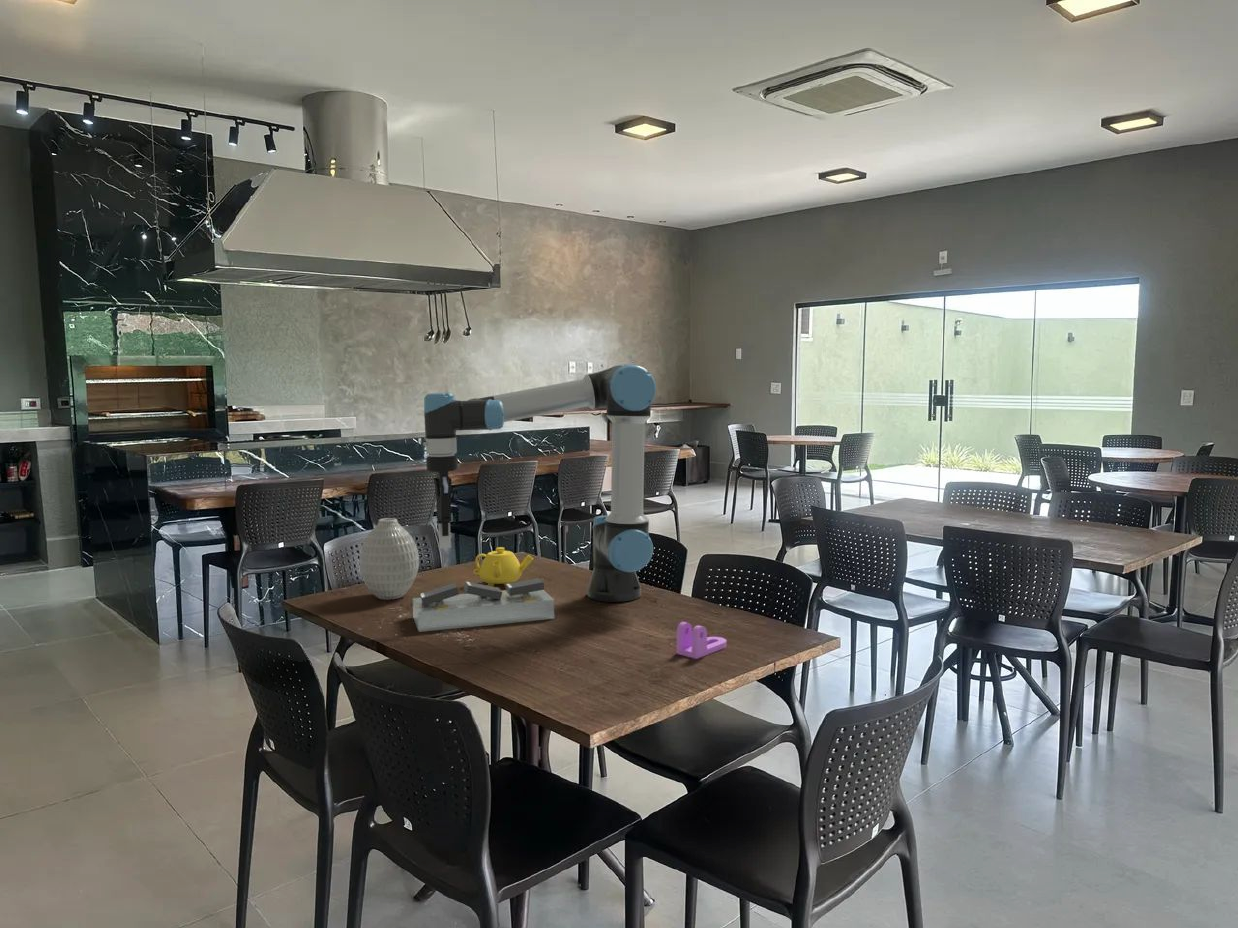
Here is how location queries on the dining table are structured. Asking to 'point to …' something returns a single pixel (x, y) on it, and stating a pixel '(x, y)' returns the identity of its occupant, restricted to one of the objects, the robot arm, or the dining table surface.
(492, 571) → the teapot
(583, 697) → the dining table surface
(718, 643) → the bracket
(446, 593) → the switch
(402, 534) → the vase
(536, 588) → the switch
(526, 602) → the console
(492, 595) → the switch
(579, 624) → the dining table surface
